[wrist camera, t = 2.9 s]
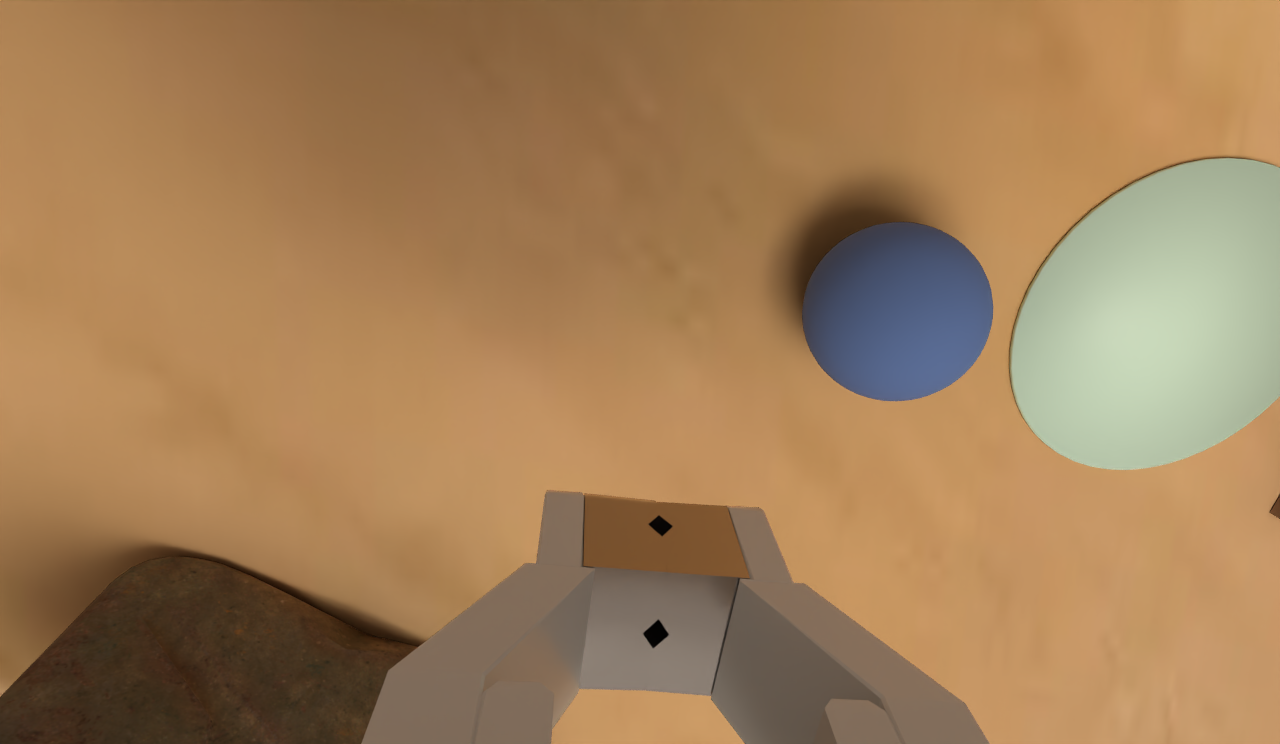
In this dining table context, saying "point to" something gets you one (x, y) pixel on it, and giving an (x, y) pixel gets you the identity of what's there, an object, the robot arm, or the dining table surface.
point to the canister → (199, 666)
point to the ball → (897, 311)
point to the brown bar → (1276, 508)
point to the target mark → (1156, 319)
